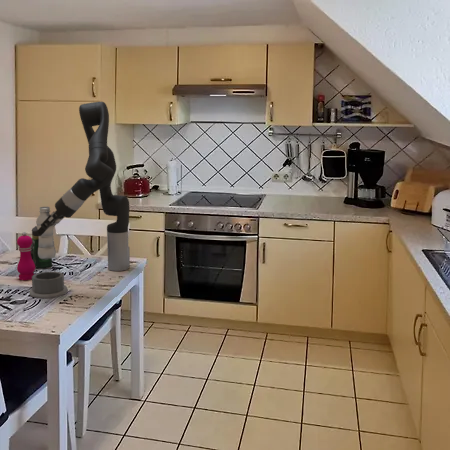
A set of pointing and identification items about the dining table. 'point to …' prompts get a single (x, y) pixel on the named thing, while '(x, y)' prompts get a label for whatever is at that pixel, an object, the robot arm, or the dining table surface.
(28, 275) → the pepper mill
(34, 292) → the bottle holder
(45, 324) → the dining table surface
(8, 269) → the dining table surface
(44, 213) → the plastic bottle
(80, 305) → the dining table surface
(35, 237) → the coffee jar
